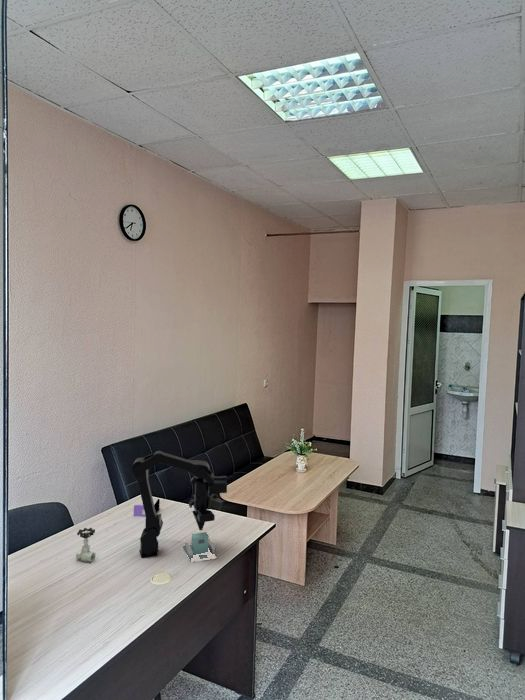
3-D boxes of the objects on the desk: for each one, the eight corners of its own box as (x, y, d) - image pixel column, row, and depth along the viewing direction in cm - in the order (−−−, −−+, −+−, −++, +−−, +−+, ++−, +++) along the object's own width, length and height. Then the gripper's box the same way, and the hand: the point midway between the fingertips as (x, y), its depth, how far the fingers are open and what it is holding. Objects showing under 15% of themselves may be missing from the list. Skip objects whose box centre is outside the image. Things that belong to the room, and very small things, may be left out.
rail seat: (190, 563, 187) (190, 555, 187) (182, 547, 200) (183, 540, 200) (217, 559, 191) (217, 551, 191) (208, 544, 204) (208, 536, 204)
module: (193, 554, 192) (194, 538, 192) (191, 550, 196) (191, 533, 196) (208, 552, 194) (208, 536, 194) (205, 548, 198) (206, 532, 198)
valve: (87, 566, 182) (87, 535, 181) (73, 563, 184) (73, 533, 183) (98, 558, 188) (98, 529, 188) (84, 555, 190) (84, 526, 190)
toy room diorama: (156, 520, 227) (156, 506, 226) (131, 519, 227) (131, 505, 226) (162, 511, 239) (162, 497, 238) (138, 510, 239) (138, 496, 238)
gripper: (227, 498, 188) (226, 536, 189) (214, 483, 206) (213, 518, 206) (200, 501, 184) (199, 540, 185) (189, 486, 201) (188, 522, 202)
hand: (200, 530), depth 195 cm, fingers closed
